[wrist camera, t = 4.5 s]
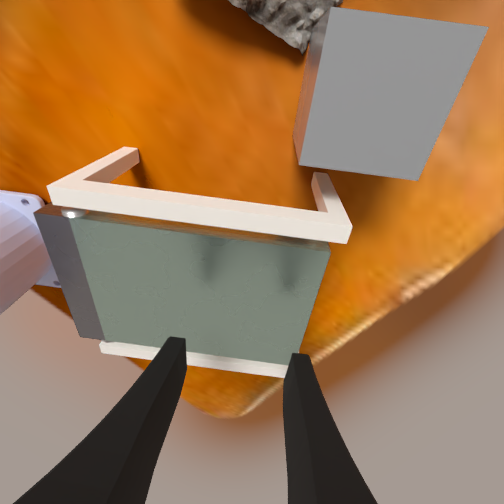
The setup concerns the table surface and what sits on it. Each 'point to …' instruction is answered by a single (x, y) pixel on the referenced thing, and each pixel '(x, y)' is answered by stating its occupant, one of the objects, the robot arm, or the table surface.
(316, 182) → the miniature coffee table
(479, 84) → the table surface
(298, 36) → the stone fragment
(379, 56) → the stone block
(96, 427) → the robot arm
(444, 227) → the table surface
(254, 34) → the table surface
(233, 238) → the trapdoor plate
